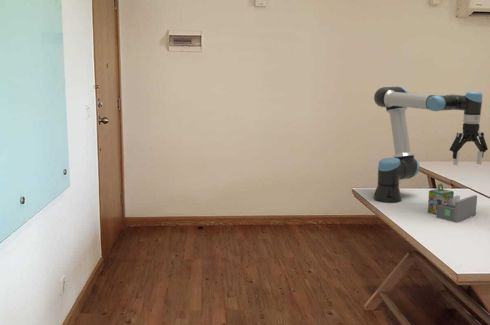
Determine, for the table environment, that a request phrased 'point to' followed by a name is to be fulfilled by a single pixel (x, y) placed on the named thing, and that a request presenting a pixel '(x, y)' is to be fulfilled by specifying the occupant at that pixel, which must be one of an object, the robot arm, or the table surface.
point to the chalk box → (438, 198)
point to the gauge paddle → (451, 201)
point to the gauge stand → (458, 209)
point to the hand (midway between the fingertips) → (467, 164)
